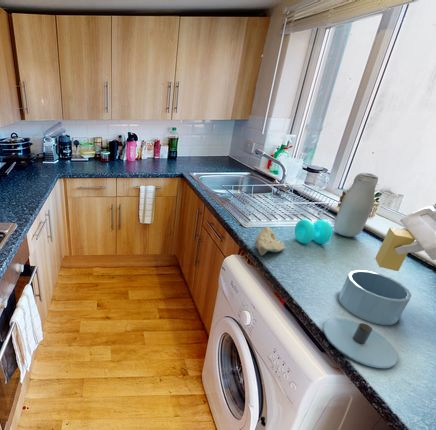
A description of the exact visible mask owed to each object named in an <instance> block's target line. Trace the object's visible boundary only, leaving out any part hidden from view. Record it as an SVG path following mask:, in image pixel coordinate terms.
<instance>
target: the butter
mask: <svg viewBox="0 0 436 430" xmlns="http://www.w3.org/2000/svg"><path fill="white" fill-rule="evenodd" d="M401 229H402V228H401ZM401 229H400V228H396V227H395V228H394V227H389V228H388V230H387V232H386V235H385V236H384V239H383V241H382V243H381V245H380V247H379V249H378V251H377V253H376V254H375V255H376V256H375V257H374V259H375V261H376V264H377V265H378V267H379V268H382V269H386V270H390V271H395V272H399V271H400V270H401V267H402V265H403V263H404V261H405V259H406V258H407V255H408V254H409V253H408V252H407V253H404V254H401V255H399V254H398V253H397V252H396V251H395V249H394V247H396V246H398V245H401V244H402V246H403V245H409V244H411V243H412V242H415V241H416V240H415V238H414V237H413V236H412V235H411V233H410V232H409V231H406V230H401Z"/></svg>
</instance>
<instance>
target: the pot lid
mask: <svg viewBox="0 0 436 430" xmlns="http://www.w3.org/2000/svg"><path fill="white" fill-rule="evenodd" d="M322 328H323V329H322V330H323V334H324V336H325V338H326V339H327V341H328V342H329V344H331V346H333V347H334V348H335V349H336V350H337V351H339V352H340V353H342V354H343V355H345V357H348V358H349V359H351V360H352V361H355V362H357V363H360V364H362V365H365V366H368V367H372V368H376V369H389V368H392V367H394V366H395V365H396V363H397V362H398V360H399V357H398V353H397V351H396V349H395V348H394V346H393V345H392V344H391V342H390V341H388V339H386V338H385V337H384V336H383V335H381V334H380V333H378V331H376V330H374V329H373V328H372V327H371V326H370V325H368V323H364V322H357V321H354V320H350V319H346V318H331V319H328V320H327V321H326V322H325V323H324V324H323V327H322Z"/></svg>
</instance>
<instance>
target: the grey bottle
mask: <svg viewBox="0 0 436 430" xmlns="http://www.w3.org/2000/svg"><path fill="white" fill-rule="evenodd" d="M378 182H379V176H377V175H376V174H373V173H369V172H360V173H357V174H356V176H355V177H354V179H353V183H352V185H351V186H350V187H349V189H348V190H347V192H346V193H345V194H344V196H343V197H342V199H341V202H340V205H339V208H338V212H337V214H336V216H335V219H334V222H333V223H334V224H333V228H334V232H336V233H337V234H338V235H340V236H343V237H349V238H352V237H356V236H357V237H358V235H360V234H361V233H362V231H363V230H364V228H365V226H366V223H367V221H368V220H369V216H370V214H371V212H372V210H373V208H374V204H375V191H376V186H377V184H378Z"/></svg>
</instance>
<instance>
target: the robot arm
mask: <svg viewBox="0 0 436 430" xmlns="http://www.w3.org/2000/svg"><path fill="white" fill-rule="evenodd" d="M399 221H400V223H401V224H402V225H403V226H404V227H403V228H401V230H406V231H409V232H410V233H411V235H412V236H413V237H414V238H415V241H414V242H412V243H411V244H409V245H403V246H402V244H401V245H398V246H396V247H394V249H395V251H396V252H397V253H398V254H399V255H401V254H404V253H407V252H408V254H409V253H420V252H423V251H424V252H425V254H427V256H428V257H429V258H430V260H432V261H436V201H435V202H433V203H432V206H426V207H423V208H420V209H418V210H416V211H413V212H411V213H409V214H406V215H404V216H403V217H401V219H400V220H399Z"/></svg>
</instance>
